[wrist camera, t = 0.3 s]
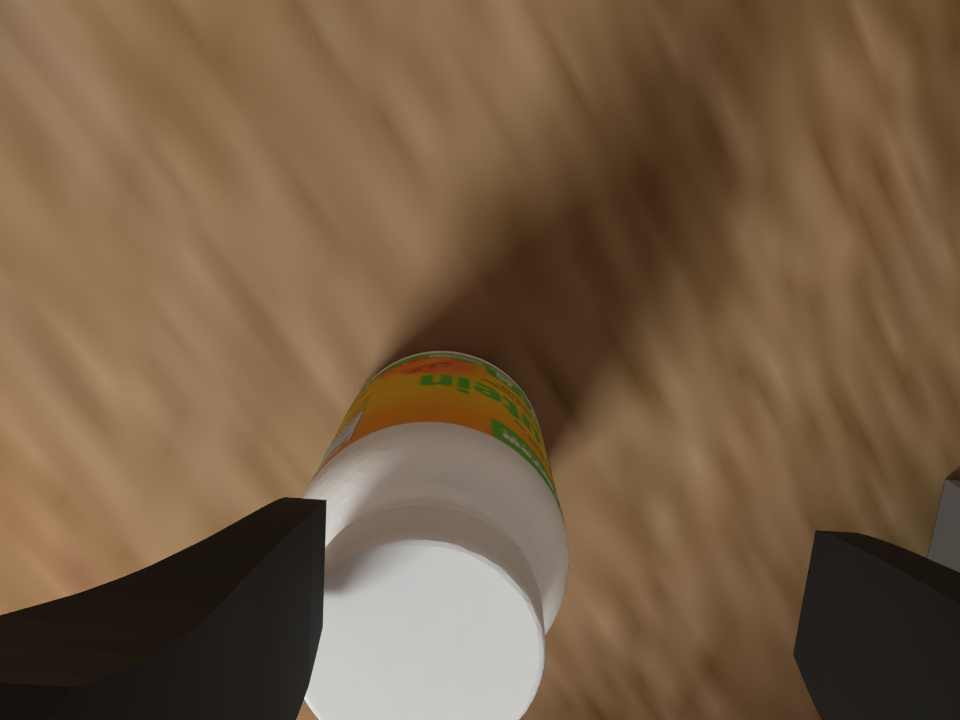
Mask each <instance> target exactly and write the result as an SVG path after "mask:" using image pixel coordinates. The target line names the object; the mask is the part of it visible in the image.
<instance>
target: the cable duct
mask: <svg viewBox="0 0 960 720" xmlns="http://www.w3.org/2000/svg"><path fill="white" fill-rule="evenodd" d="M927 559H930V560H932V561H934V562H937V563H939V564H941V565H944V566H946V567H948V568H951V569H953V570H955V571H957V572H960V480H948V479H946V480H945V484H944V489H943V493H942V497H941V501H940V506H939V510H938V514H937V519H936V523H935V527H934V532H933V536H932V540H931V545H930V549H929V553H928V557H927Z"/></svg>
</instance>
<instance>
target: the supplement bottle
mask: <svg viewBox="0 0 960 720" xmlns="http://www.w3.org/2000/svg"><path fill="white" fill-rule="evenodd" d="M303 498H304V499H320V500H327V501H326V535H325V569H324V603H323V628H322V632H321V637H320V641H319V645H318V650H317V654H316V659H315V663H314V667H313V671H312V675H311V679H310V683H309V687H308V689H307V692H306V695H305V697H304V699H305V701H306V702H307V704H308V706H309V707H310V709H311V710H312V711H313V713H314V714H315V715H316V717H317V718H318V719H319V720H519V719H520V718H521V717H522V716H523V714H524V713H525V712H526V711H527V709H528V707H529V705H530V704H531V702H532V701H533V699H534V697H535V695H536V692H537V690H538V687H539V685H540V682H541V679H542V675H543V671H544V667H545V660H546V637H545V635H546V633H547V632H548V630H549V629H550V627H551V625H552V624H553V622H554V620H555V618H556V616H557V613H558V611H559V609H560V606H561V603H562V600H563V596H564V593H565V588H566V582H567V575H568V566H569V550H568V542H567V534H566V528H565V523H564V519H563V515H562V511H561V508H560V504H559V500H558V497H557V493H556V489H555V485H554V481H553V478H552V472H551V468H550V465H549V461H548V458H547V453H546V449H545V445H544V441H543V437H542V432H541V428H540V425H539V422H538V419H537V416H536V414H535V411H534V409H533V407H532V405H531V403H530V401H529V400H528V398H527V396H526V395H525V393H524V392H523V391H522V389H521V388H520V387H519V386H518V385H517V384H516V382H515V381H514V380H513V379H511V378H510V377H509V376H508V375H507V374H506V373H505V372H503V371H502V370H501V369H499V368H498V367H496V366H494V365H493V364H491V363H489V362H487V361H485V360H483V359H481V358H478V357H475V356H472V355H469V354H464V353H460V352H453V351H430V352H422V353H418V354H414V355H411V356H408V357H405V358H402V359H400V360H398V361H396V362H394V363H392V364H390V365H389V366H387V367H386V368H384V369H383V370H381V371H380V372H379V373H378V374H376V375H375V376H374V377H373V378H372V379H371V380H370V381H369V382H368V383H367V384H366V385H365V387H364V388H363V389H362V390H361V392H360V393H359V395H358V396H357V397H356V399H355V400H354V402H353V404H352V405H351V407H350V409H349V410H348V412H347V414H346V416H345V418H344V420H343V422H342V424H341V426H340V427H339V429H338V431H337V433H336V435H335V437H334V439H333V441H332V443H331V445H330V447H329V448H328V450H327V452H326V454H325V456H324V458H323V460H322V462H321V464H320V466H319V468H318V470H317V472H316V473H315V475H314V477H313V479H312V480H311V482H310V484H309V486H308V488H307V490H306V491H305V494H304V496H303Z"/></svg>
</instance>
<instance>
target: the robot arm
mask: <svg viewBox="0 0 960 720" xmlns="http://www.w3.org/2000/svg"><path fill="white" fill-rule="evenodd" d="M326 501H327V500H320V499H304V498H288V497H284V498H281V499H278V500H276V501H274V502H272V503H270V504H268V505H266V506H264V507H262V508H261V509H259V510H257V511H255V512H253V513H252V514H250V515H248V516H246V517H245V518H243V519H241V520H239V521H237V522H235V523H234V524H232V525H230V526H228V527H226V528H225V529H223V530H221V531H219V532H217V533H216V534H214V535H212V536H210V537H208V538H206V539H204V540H202V541H200V542H198V543H196V544H194V545H192V546H190V547H188V548H186V549H184V550H182V551H180V552H178V553H176V554H174V555H172V556H170V557H168V558H165V559H163V560H161V561H159V562H157V563H155V564H153V565H151V566H149V567H146V568H144V569H142V570H139V571H137V572H134V573H132V574H129V575H127V576H125V577H122V578H119V579H117V580H114V581H111V582H109V583H106V584H103V585H100V586H98V587H95V588H92V589H89V590H87V591H84V592H81V593H78V594H74V595H71V596H68V597H64V598H61V599H57V600H54V601H50V602H47V603H43V604H39V605H36V606H32V607H29V608H25V609H22V610H18V611H15V612H11V613H7V614H4V615H0V720H296V718H297V716H298V713H299V710H300V708H301V705H302V703H303V700H304V697H305V695H306V692H307V689H308V687H309V683H310V679H311V675H312V671H313V667H314V663H315V659H316V654H317V650H318V645H319V641H320V637H321V632H322V628H323V603H324V569H325V535H326ZM793 655H794V657H795V660H796V662H797V665H798V667H799V670H800V672H801V675H802V677H803V679H804V682H805V684H806V687H807V689H808V691H809V694H810V696H811V698H812V700H813V702H814V705H815V707H816V709H817V711H818V713H819V715H820V717H821V719H822V720H960V572H957V571H955V570H953V569H951V568H948V567H946V566H944V565H941V564H939V563H937V562H934V561H932V560H930V559H927V558H925V557H923V556H921V555H918V554H916V553H913V552H911V551H909V550H906V549H904V548H901V547H899V546H896V545H893V544H891V543H888V542H886V541H883V540H880V539H877V538H874V537H871V536H867V535H863V534H859V533H849V532H833V531H817V530H816V532H815V537H814V543H813V548H812V554H811V559H810V565H809V570H808V576H807V581H806V587H805V592H804V598H803V603H802V609H801V614H800V620H799V625H798V631H797V636H796V642H795V647H794V653H793Z"/></svg>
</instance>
